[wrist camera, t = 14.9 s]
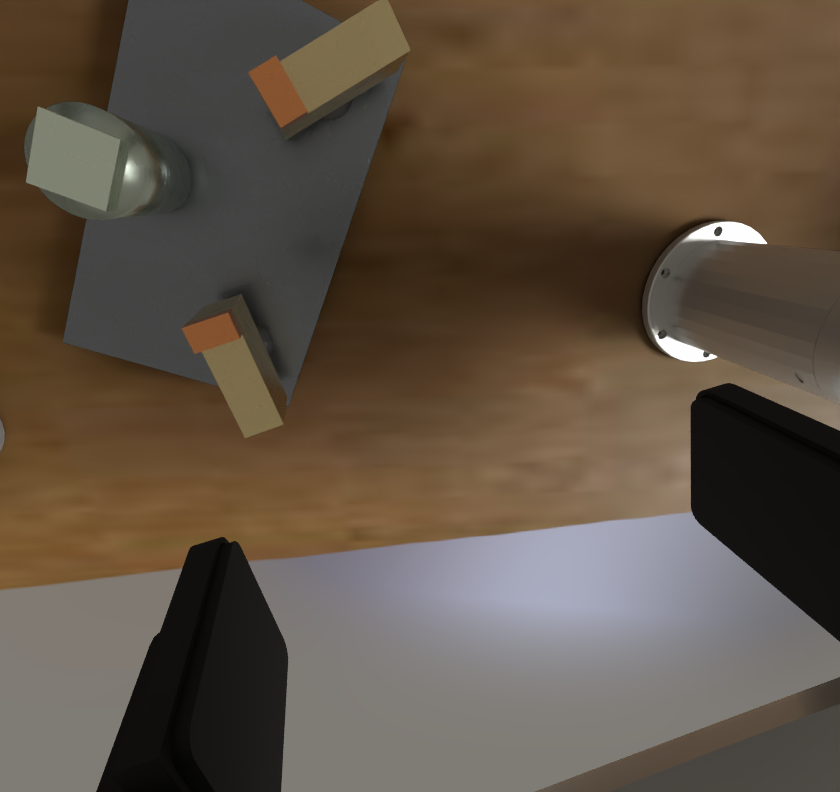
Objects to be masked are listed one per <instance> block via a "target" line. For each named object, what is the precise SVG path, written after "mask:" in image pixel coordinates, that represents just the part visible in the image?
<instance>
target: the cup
mask: <svg viewBox="0 0 840 792" xmlns="http://www.w3.org/2000/svg"><path fill="white" fill-rule="evenodd" d="M4 436H5V431H4V428H3V424H2V421H1V419H0V451H1V449H2V447H3V445H4Z"/></svg>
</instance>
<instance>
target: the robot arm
mask: <svg viewBox="0 0 840 792" xmlns="http://www.w3.org/2000/svg"><path fill="white" fill-rule="evenodd" d="M642 316H643V322H644V326H645V329H646V332H647V335H648V336H649V338H650V339H651V341H652V343H653V344H654V345H655V346H656V347H657V348H658V349H659V350H660V351H661V352H663V353H665V354H667V355H669V356H670V357H673V358H675V359H678V360H681V361H687V362H703V361H707V360H711V359H714V358H716V357H720V358H722V359H725V360H728V361H730V362H733V363H735V364H738V365H740V366H743V367H746V368H748V369H751V370H753V371H756V372H758V373H761V374H763V375H766V376H769V377H771V378H774V379H776V380H779V381H781V382H784V383H787V384H789V385H792V386H794V387H797V388H799V389H802V390H805V391H807V392H810V393H812V394H815V395H817V396H820V397H823V398H825V399H828V400H830V401H833V402H836V403H838V404H840V251H833V250H823V249H812V248H802V247H792V246H782V245H772V244H767V243H766V241H765V240H764V239H763V237H762V236H761V235H760V234H759V233H758V232H757V231H756V230H754V229H753V228H752V227H750V226H748V225H746V224H743V223H740V222H734V221H711V222H707V223H702V224H700V225H698V226H695V227H693V228H691V229H689V230H687V231H686V232H685V233H683V234H682V235H680V236H679V237H677V238H676V239H675V240H674V241H673V242H672V243H671V244H670V245H669V246H668V247H667V248H666V249H665V250H664V252H663V253H662V254H661V255H660V257H659V258H658V259H657V261H656V263H655V265H654V267H653V268H652V270H651V272H650V275H649V277H648V280H647V282H646V285H645V289H644V294H643V299H642ZM691 509H692V513H693V515H694V516H695V519H696V520H697V521H698V522H699V524H700V525H702V526H703V527H704V528H705V529H706V530H708V531H709V532H710V533H711V534H712V535H713V536H715V537H716V538H717V539H718V540H719V541H721V542H722V543H723V544H724V545H725V546H727V547H728V548H729V549H730V550H731V551H733V552H734V553H735V554H736V555H737V556H738V557H740V558H741V559H742V560H743V561H745V562H746V563H747V564H748V565H749V566H750V567H752V568H753V569H754V570H755V571H756V572H758V573H759V574H760V575H761V576H762V577H763V578H765V579H766V580H767V581H768V582H769V583H771V584H772V585H773V586H774V587H775V588H777V589H778V590H779V591H780V592H782V594H784V595H785V596H786V597H787V598H789V599H790V600H791V601H792V602H793V603H794V604H796V605H797V606H798V607H799V608H800V609H802V610H803V611H804V612H805V613H806V614H807V615H809V616H810V617H811V618H812V619H813V620H815V621H816V622H817V623H818V624H819V625H821V626H822V627H823V628H824V629H826V630H827V631H828V632H829V633H831V635H833V636H834V637H835V638H836V639H837V640H838V641H840V431H839V430H837V429H834V428H832V427H830V426H828V425H825V424H823V423H821V422H819V421H816V420H814V419H812V418H809V417H807V416H805V415H803V414H800V413H798V412H796V411H794V410H791V409H789V408H787V407H784V406H782V405H780V404H778V403H775V402H773V401H771V400H769V399H766V398H764V397H762V396H759V395H757V394H755V393H753V392H750V391H748V390H746V389H744V388H741V387H739V386H737V385H734V384H731V383H727V384H723V385H719V386H716V387H713V388H709V389H706V390H703V391H701V392H699V393H698V395H697V397H696V400H695V401H693V402H692V404H691ZM287 671H288V654H287V648H286V644H285V641H284V639H283V636H282V635H281V632H280V630H279V628H278V626H277V624H276V621H275V619H274V617H273V615H272V613H271V611H270V609H269V607H268V604H267V602H266V600H265V598H264V596H263V594H262V591H261V589H260V587H259V585H258V583H257V581H256V579H255V577H254V575H253V572H252V570H251V568H250V566H249V564H248V561H247V559H246V557H245V555H244V553H243V551H242V549H241V547H240V545H239V543H238V542H236V541H234V542H231V543H229V542H228V541H227V540H226V538H224V537H221V538H217V539H214V540H211V541H207V542H204V543H201V544H198V545H194V546H192V547H191V548H190V550H189V552H188V555H187V557H186V560H185V563H184V566H183V569H182V572H181V575H180V577H179V580H178V583H177V586H176V589H175V591H174V594H173V597H172V600H171V603H170V606H169V608H168V611H167V614H166V617H165V620H164V623H163V625H162V628H161V631H160V633H158V634H157V635H156V636H155V637H154V638H153V640H152V642H151V644H150V646H149V649H148V652H147V655H146V658H145V660H144V663H143V666H142V668H141V671H140V674H139V676H138V679H137V682H136V685H135V687H134V690H133V693H132V696H131V698H130V701H129V704H128V707H127V709H126V712H125V715H124V717H123V720H122V723H121V726H120V729H119V731H118V734H117V737H116V740H115V742H114V746H113V748H112V750H111V753H110V756H109V758H108V762H107V764H106V767H105V770H104V772H103V775H102V778H101V780H100V783H99V786H98V789H97V791H96V792H281V781H282V762H283V744H284V725H285V707H286V689H287ZM536 792H840V677H839V678H836V679H834V680H831V681H828V682H826V683H823V684H820V685H818V686H815V687H812V688H810V689H807V690H804V691H801V692H798V693H796V694H793V695H791V696H788V697H785V698H782V699H780V700H777V701H774V702H772V703H769V704H767V705H764V706H761V707H759V708H756V709H753V710H751V711H748V712H745V713H742V714H740V715H737V716H735V717H732V718H729V719H726V720H724V721H721V722H718V723H716V724H713V725H711V726H708V727H705V728H702V729H700V730H697V731H694V732H692V733H689V734H686V735H684V736H681V737H678V738H676V739H673V740H670V741H668V742H665V743H662V744H660V745H657V746H655V747H652V748H649V749H647V750H644V751H641V752H639V753H636V754H633V755H631V756H628V757H625V758H623V759H620V760H617V761H615V762H612V763H609V764H607V765H604V766H601V767H599V768H596V769H594V770H591V771H588V772H586V773H583V774H580V775H578V776H575V777H572V778H570V779H567V780H565V781H562V782H559V783H557V784H554V785H552V786H549V787H546V788H544V789H541V790H539V791H536Z"/></svg>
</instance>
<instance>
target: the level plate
mask: <svg viewBox="0 0 840 792" xmlns="http://www.w3.org/2000/svg"><path fill="white" fill-rule="evenodd" d="M341 23H342V22H340V21H338V20H337V19H335V18H333V17H331V16H329V15H327V14H325V13H324V12H322V11H320V10H318V9H316V8H314V7H312V6H311V5H309V4H307V3H305V2H303V1H301V0H129V1H128V6H127V11H126V16H125V21H124V27H123V32H122V37H121V42H120V47H119V52H118V58H117V63H116V68H115V73H114V78H113V84H112V89H111V94H110V99H109V104H108V110H107V111H105V110H103V109H100V108H98V107H95V106H92V105H89V104H85V103H81V102H62V103H57V104H54V105H51V106H49V107H47V108H45V109H44V108H41V107H38V108H37V114H36V117H35V118H34V119H33V120H32V122H31V123H30V125H29V127H28V130H27V132H26V136H25V143H24V152H25V159H26V163H27V166H28V172H27V178H26V183H29V184H32V185H34V186H37V187H39V189H40V190H41V191H42V193H43V194H44V195H45V196H46V197H47V198H48V199H49V200H51V201H52V202H53V203H54V204H55V205H57V206H58V207H60V208H61V209H63V210H65V211H67V212H68V213H71V214H73V215H75V216H78V217H82V218H86V224H85V229H84V234H83V239H82V244H81V250H80V255H79V260H78V265H77V270H76V276H75V281H74V286H73V291H72V296H71V302H70V307H69V312H68V317H67V322H66V327H65V333H64V338H63V343H67V344H70V345H74V346H77V347H81V348H84V349H88V350H91V351H95V352H98V353H102V354H106V355H109V356H113V357H116V358H120V359H123V360H127V361H130V362H134V363H137V364H141V365H145V366H148V367H152V368H155V369H159V370H162V371H166V372H169V373H173V374H176V375H180V376H184V377H187V378H191V379H194V380H198V381H201V382H205V383H208V384H212V385H215V386H219V385H218V383H217V381H216V379H215V377H214V375H213V373H212V371H211V369H210V367H209V365H208V363H207V361H206V359H205V358H204V356H203V354H202V352H199V353H196V354H194V352H193V350H192V348H191V346H190V344H189V342H188V340H187V338H186V336H185V334H184V332H183V330H182V327H183V326H184V325H185V324H186V323H188V322H189V321H190V320H191V319H192V318H193V317H194V316H195V315H196V314H197V313H198V312H199V311H200V310H201V309H202V308H203V307H204V306H206V305H209V304H212V303H215V302H218V301H221V300H224V299H227V298H230V297H233V296H237V295H240V294H242V296H243V298H244V301H245V303H246V305H247V307H248V310H249V312H250V314H251V316H252V319H253V321H254V323H255V325H256V328H257V330H258V332H259V334H260V337H261V338H262V339H263V341H264V343H265V348H266V350H267V352H268V355H269V357H270V359H271V361H272V364H273V366H274V368H275V370H276V372H277V375H278V377H279V379H280V381H281V384H282V386H283V388H284V390H285V393H286V395H287V403H286V406H289V403H290V400H291V397H292V394H293V391H294V388H295V385H296V382H297V379H298V376H299V373H300V370H301V367H302V364H303V361H304V359H305V356H306V353H307V350H308V347H309V344H310V341H311V338H312V335H313V332H314V329H315V326H316V323H317V320H318V317H319V314H320V311H321V308H322V305H323V302H324V299H325V297H326V294H327V291H328V288H329V285H330V282H331V279H332V276H333V273H334V270H335V267H336V264H337V261H338V258H339V255H340V252H341V249H342V246H343V243H344V240H345V237H346V234H347V232H348V229H349V226H350V223H351V220H352V217H353V214H354V211H355V208H356V205H357V202H358V199H359V196H360V193H361V190H362V187H363V184H364V181H365V178H366V175H367V172H368V170H369V167H370V164H371V161H372V158H373V155H374V152H375V149H376V146H377V143H378V140H379V137H380V134H381V131H382V128H383V125H384V122H385V119H386V116H387V113H388V110H389V108H390V105H391V102H392V99H393V96H394V93H395V90H396V87H397V84H398V81H399V78H400V75H401V72H402V69H403V66H404V63H405V60H406V58H405V60H404V61H403V63H402V64H401V66H400V67H399V69H398V70H397V72H396V73H394V74H393V75H391V76H389V77H388V78H386V79H385V80H383V81H381V82H380V83H378V84H376V85H375V86H373V87H371V88H370V89H368V90H367V91H365V92H363V93H362V94H360V95H358V96H357V97H355V98H354V99H352V100H350V101H349V102H347V103H345V104H344V105H342V106H341V107H339V108H337V109H336V110H334V111H332V112H331V113H329V114H328V115H326V116H324V117H323V118H321V119H319V120H318V121H316V122H315V123H313V124H311V125H310V126H308V127H306V128H305V129H303V130H302V131H300V132H298V133H297V134H295V135H293V136H292V137H290V138H289V139H287V140H286V139H285V137H284V136H283V134H282V132H281V130H280V129H279V127H278V125H277V124H276V122H275V120H274V119H273V117H272V115H271V114H270V112H269V110H268V109H267V107H266V105H265V103H264V102H263V100H262V98H261V97H260V95H259V93H258V91H257V89H256V87H255V85H254V83H253V81H252V79H251V77H250V75H249V73H248V72H250V71H251V70H253V69H254V68H256V67H258V66H259V65H261V64H263V63H264V62H266V61H267V60H269V59H271V58H272V57H274V56H275V55H276V56H277V58H278V60H279V61H281V60H283V59H284V58H286V57H288V56H289V55H291V54H293V53H294V52H296V51H297V50H299V49H301V48H302V47H304V46H306V45H307V44H309V43H310V42H312V41H314V40H315V39H317V38H318V37H320V36H322V35H323V34H325V33H327V32H328V31H330V30H331V29H333V28H335V27H336V26H338V25H339V24H341Z"/></svg>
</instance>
